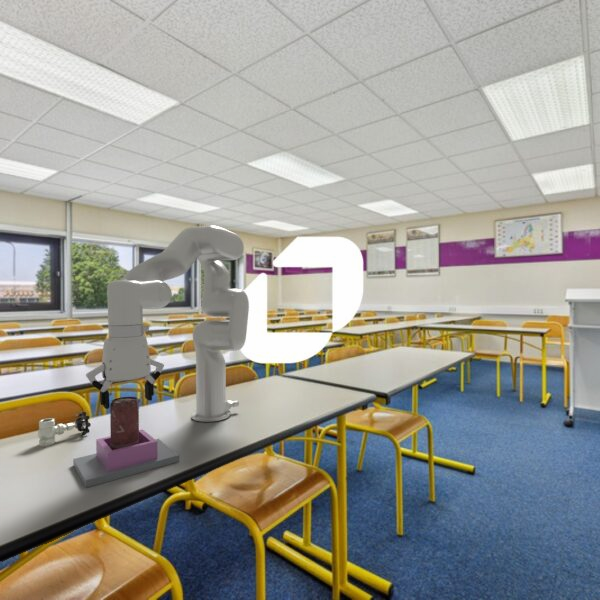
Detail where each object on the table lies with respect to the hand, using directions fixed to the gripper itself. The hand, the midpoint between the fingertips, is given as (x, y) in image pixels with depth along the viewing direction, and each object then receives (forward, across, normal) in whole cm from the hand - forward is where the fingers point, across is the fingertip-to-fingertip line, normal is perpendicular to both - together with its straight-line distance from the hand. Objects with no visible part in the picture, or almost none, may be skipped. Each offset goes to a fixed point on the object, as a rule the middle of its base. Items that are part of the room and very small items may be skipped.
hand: (128, 403), depth 92 cm
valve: (+15, +10, -27) cm, 32 cm away
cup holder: (+14, +1, 0) cm, 14 cm away
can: (+13, +1, +1) cm, 13 cm away
